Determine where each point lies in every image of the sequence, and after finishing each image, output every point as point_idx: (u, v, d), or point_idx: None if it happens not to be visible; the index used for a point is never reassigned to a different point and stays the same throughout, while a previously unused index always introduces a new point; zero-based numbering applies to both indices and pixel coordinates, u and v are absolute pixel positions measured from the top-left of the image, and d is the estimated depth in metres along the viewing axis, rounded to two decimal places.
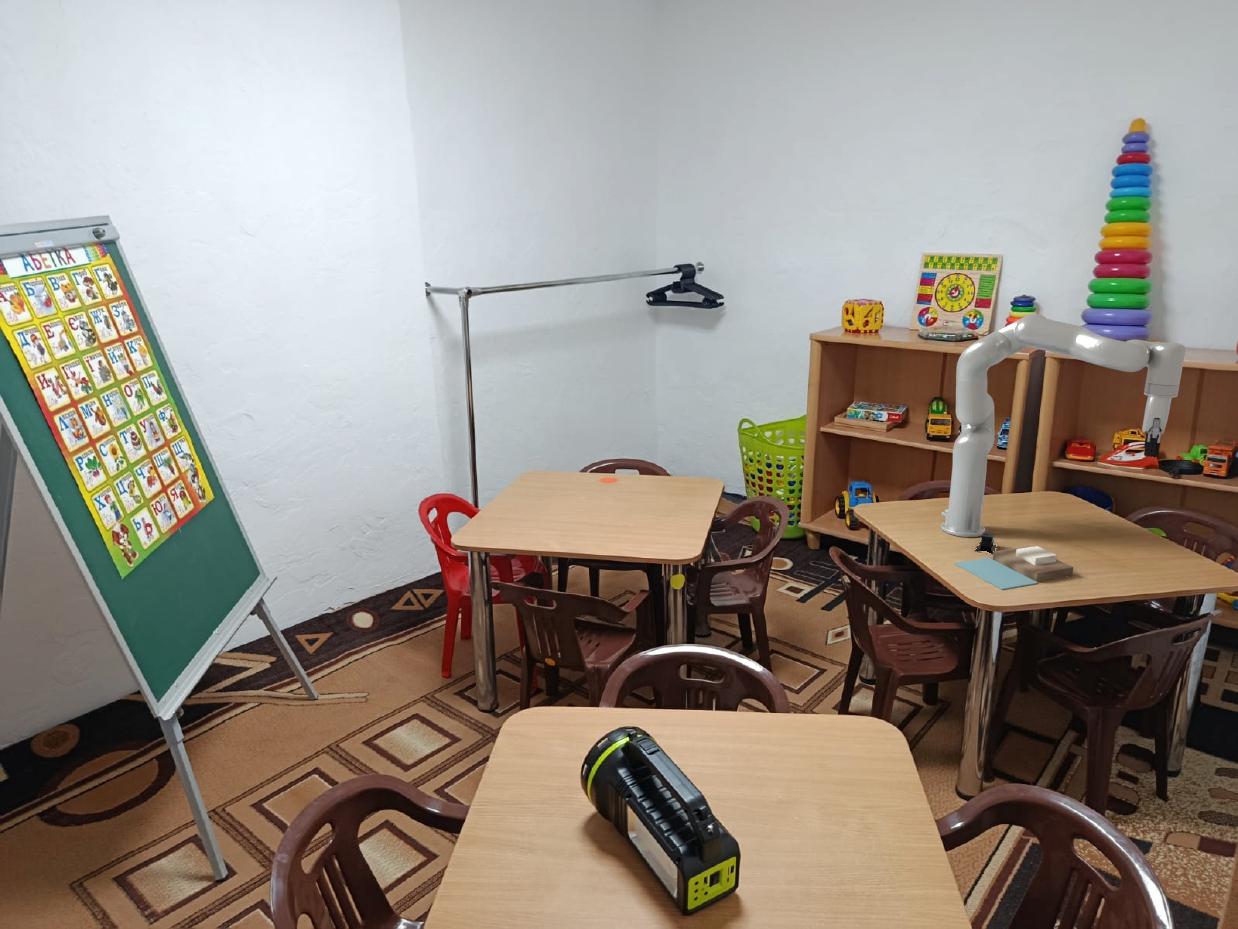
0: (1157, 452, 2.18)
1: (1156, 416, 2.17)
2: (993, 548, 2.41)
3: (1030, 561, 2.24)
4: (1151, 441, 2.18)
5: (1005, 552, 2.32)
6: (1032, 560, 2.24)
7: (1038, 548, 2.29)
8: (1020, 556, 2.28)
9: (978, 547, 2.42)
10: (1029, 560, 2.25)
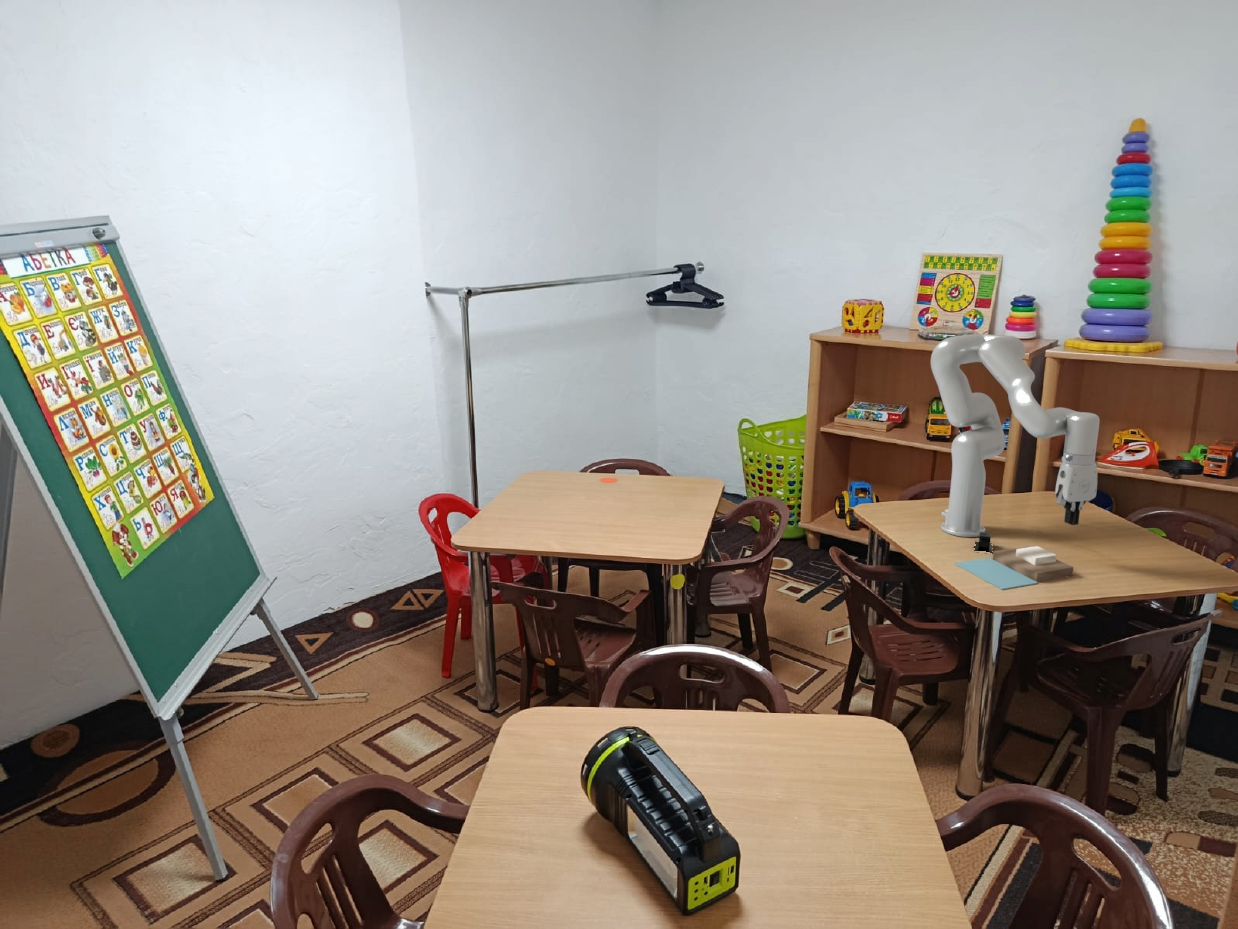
0: None
1: None
2: (990, 547, 2.41)
3: (1030, 561, 2.24)
4: None
5: (1005, 552, 2.32)
6: (1032, 560, 2.24)
7: (1038, 548, 2.29)
8: (1020, 556, 2.28)
9: (976, 547, 2.42)
10: (1029, 560, 2.25)
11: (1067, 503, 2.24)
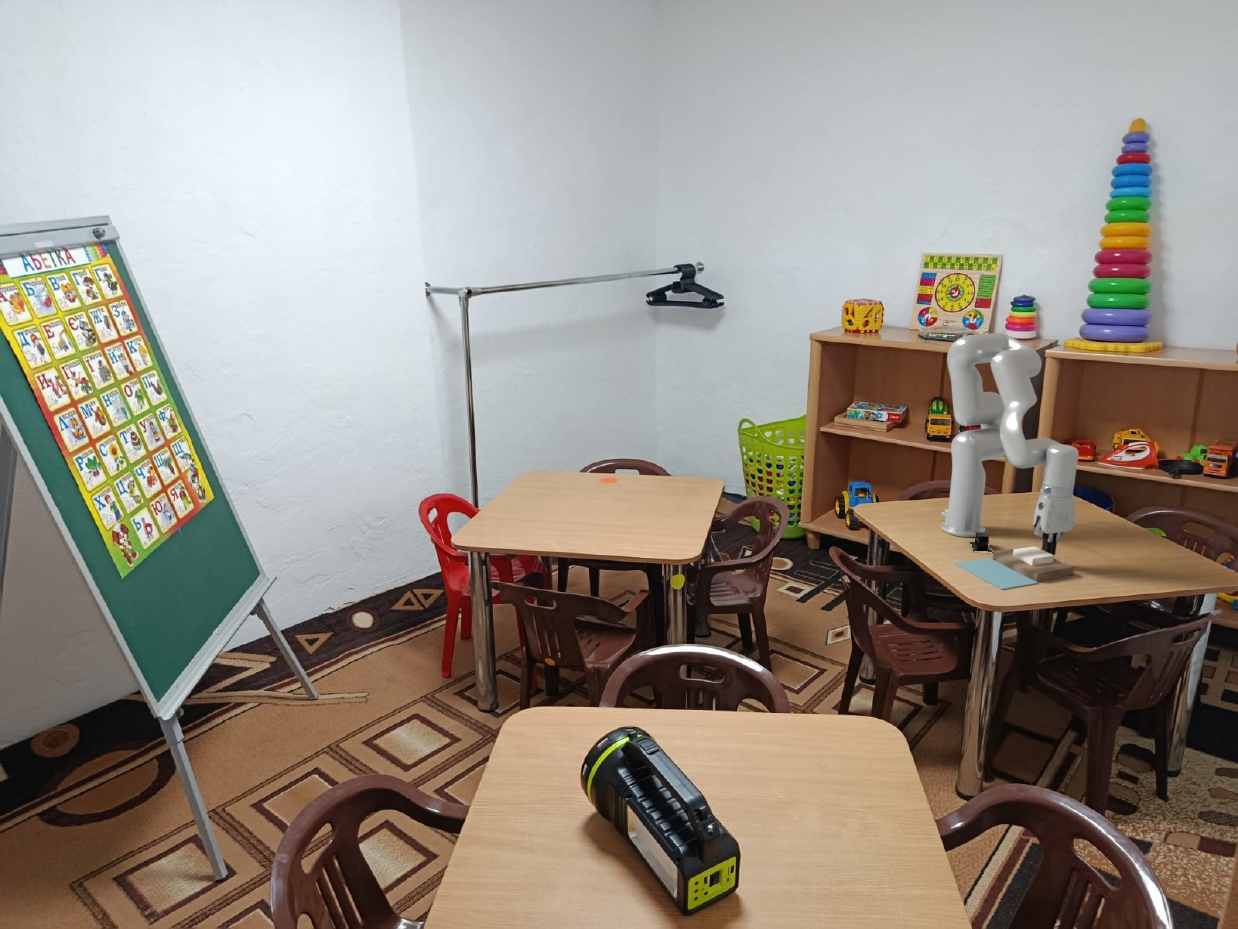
0: None
1: None
2: (988, 547, 2.42)
3: (1027, 561, 2.24)
4: None
5: (1005, 552, 2.32)
6: (1029, 560, 2.23)
7: (1035, 548, 2.29)
8: (1017, 556, 2.27)
9: (974, 547, 2.41)
10: (1026, 560, 2.24)
11: (1044, 534, 2.25)
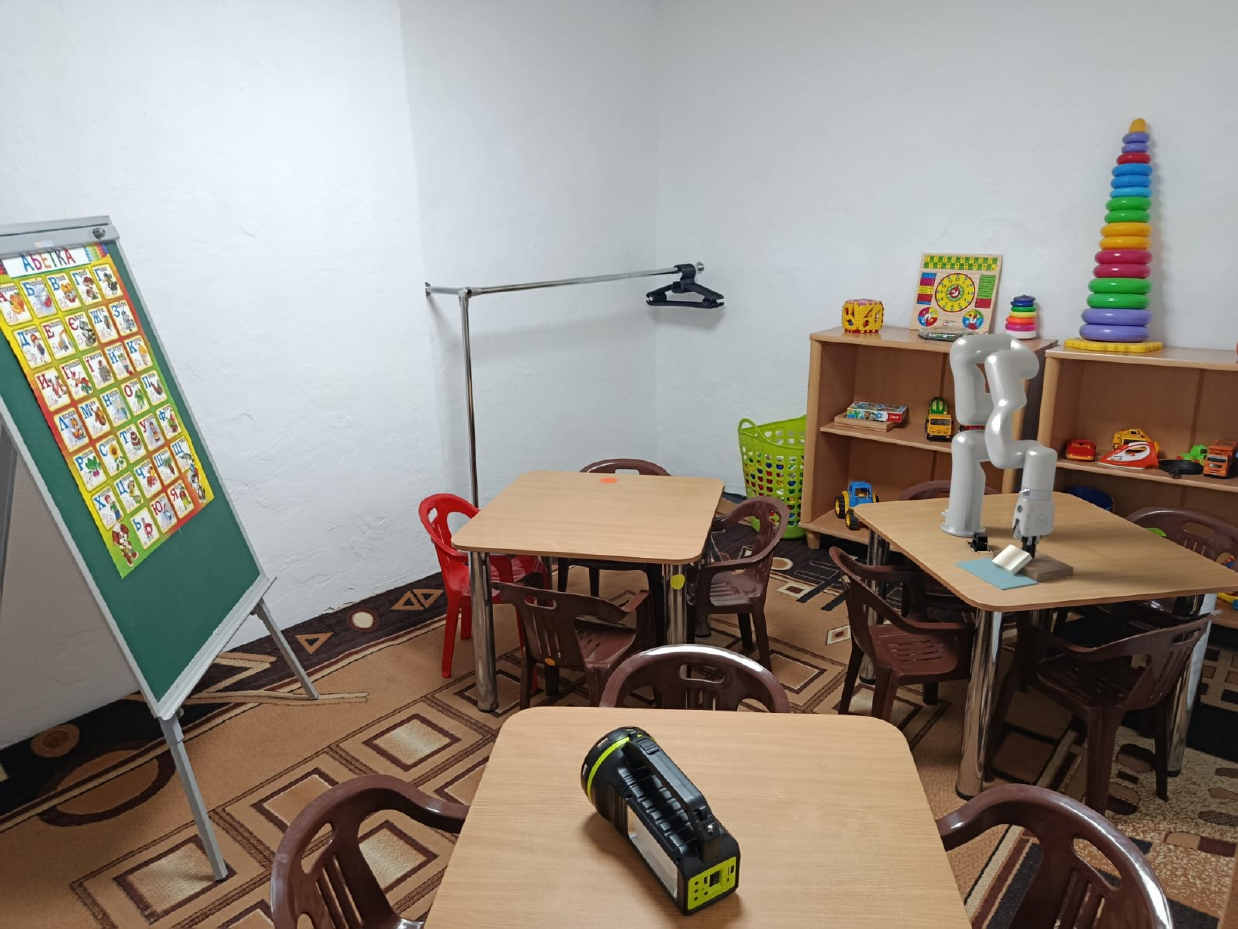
0: None
1: None
2: None
3: (1008, 572, 2.23)
4: None
5: None
6: (1008, 571, 2.23)
7: (1011, 548, 2.26)
8: (998, 566, 2.27)
9: (973, 548, 2.41)
10: (1006, 571, 2.24)
11: (1024, 537, 2.23)
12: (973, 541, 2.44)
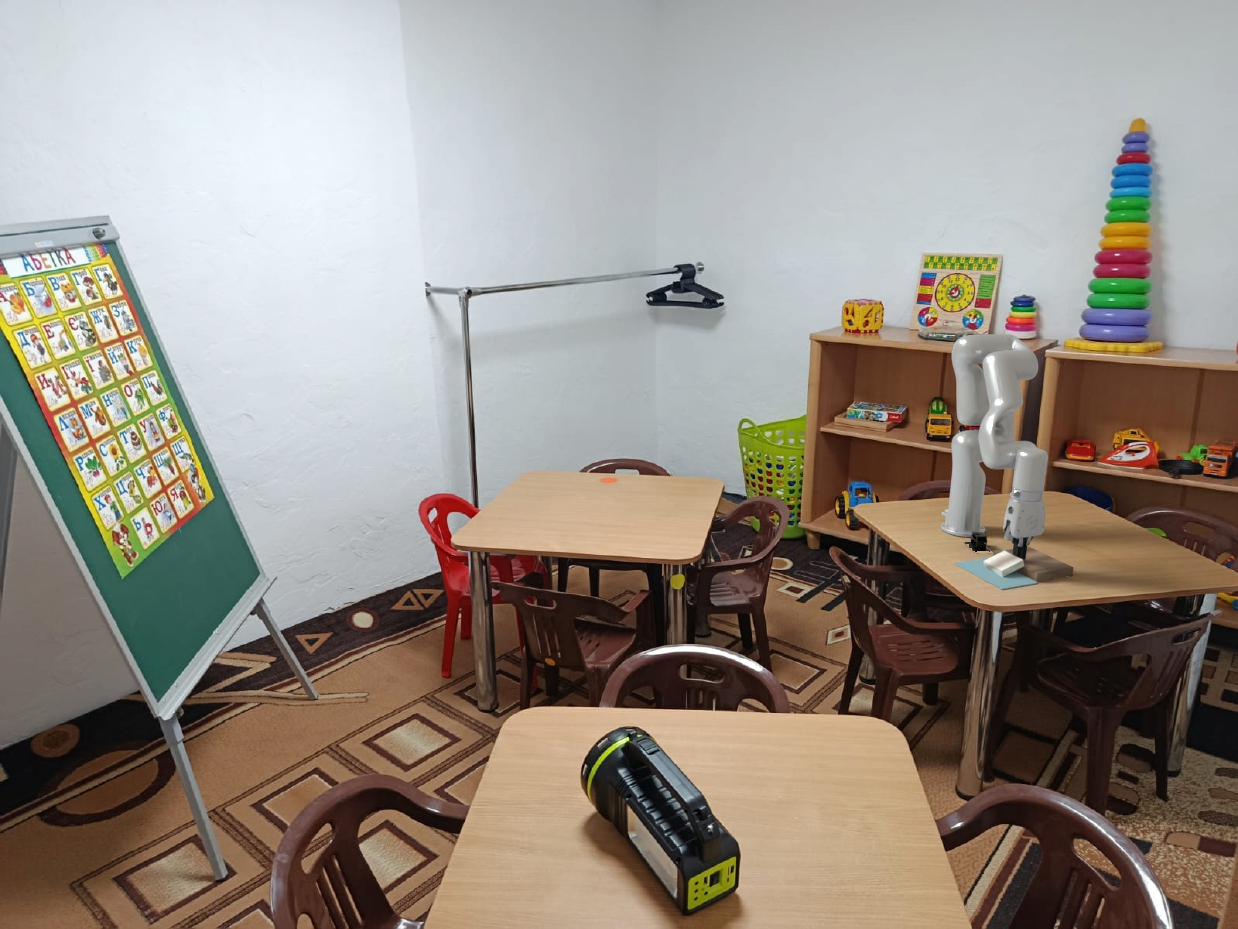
0: None
1: None
2: None
3: (998, 573, 2.22)
4: None
5: None
6: (999, 572, 2.22)
7: (1005, 554, 2.26)
8: (988, 568, 2.26)
9: (973, 548, 2.41)
10: (997, 572, 2.23)
11: (1014, 539, 2.22)
12: (971, 541, 2.44)
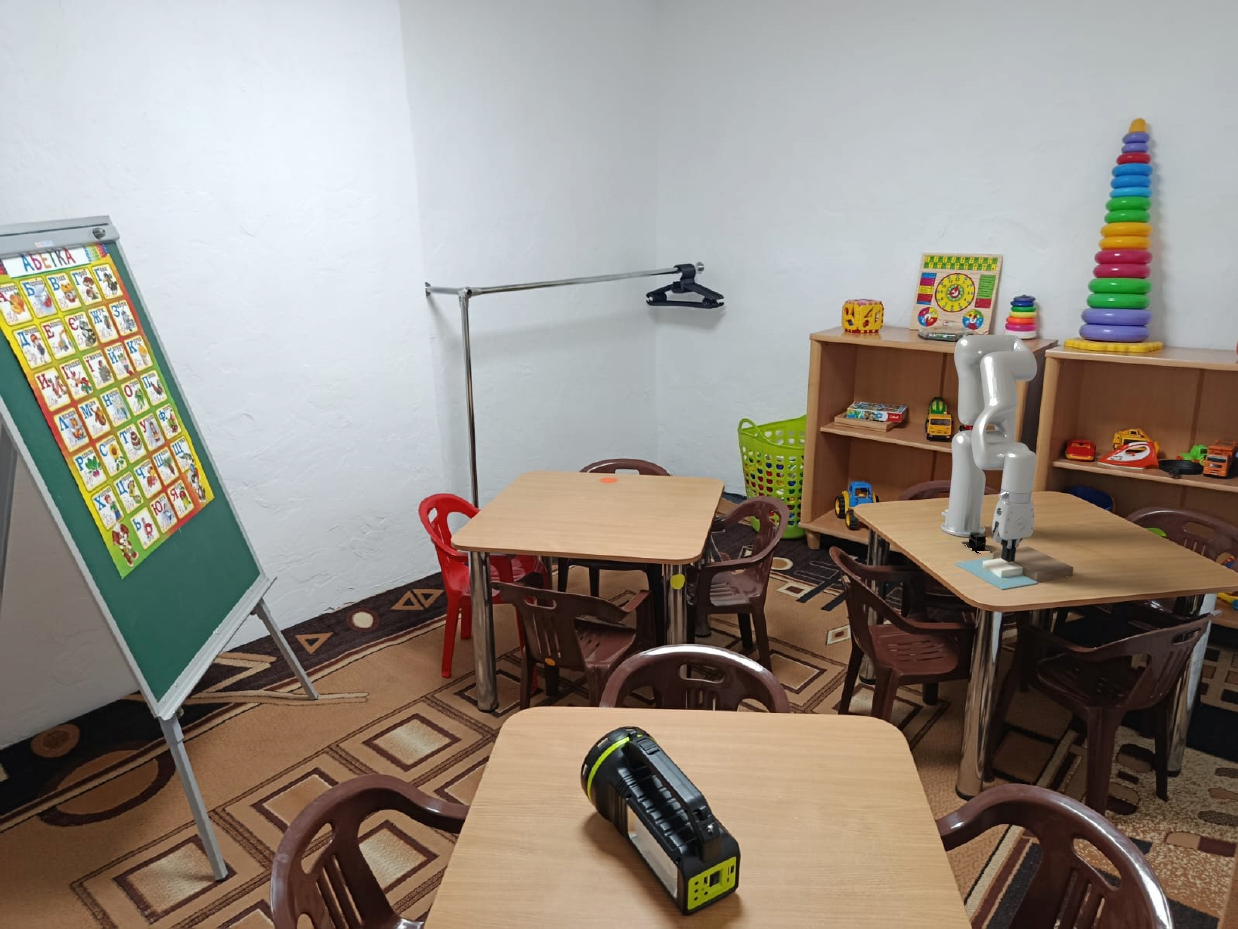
0: None
1: None
2: None
3: (996, 573, 2.22)
4: None
5: None
6: (998, 572, 2.21)
7: None
8: (987, 568, 2.25)
9: (972, 548, 2.41)
10: (995, 572, 2.22)
11: (1003, 540, 2.21)
12: (969, 541, 2.44)
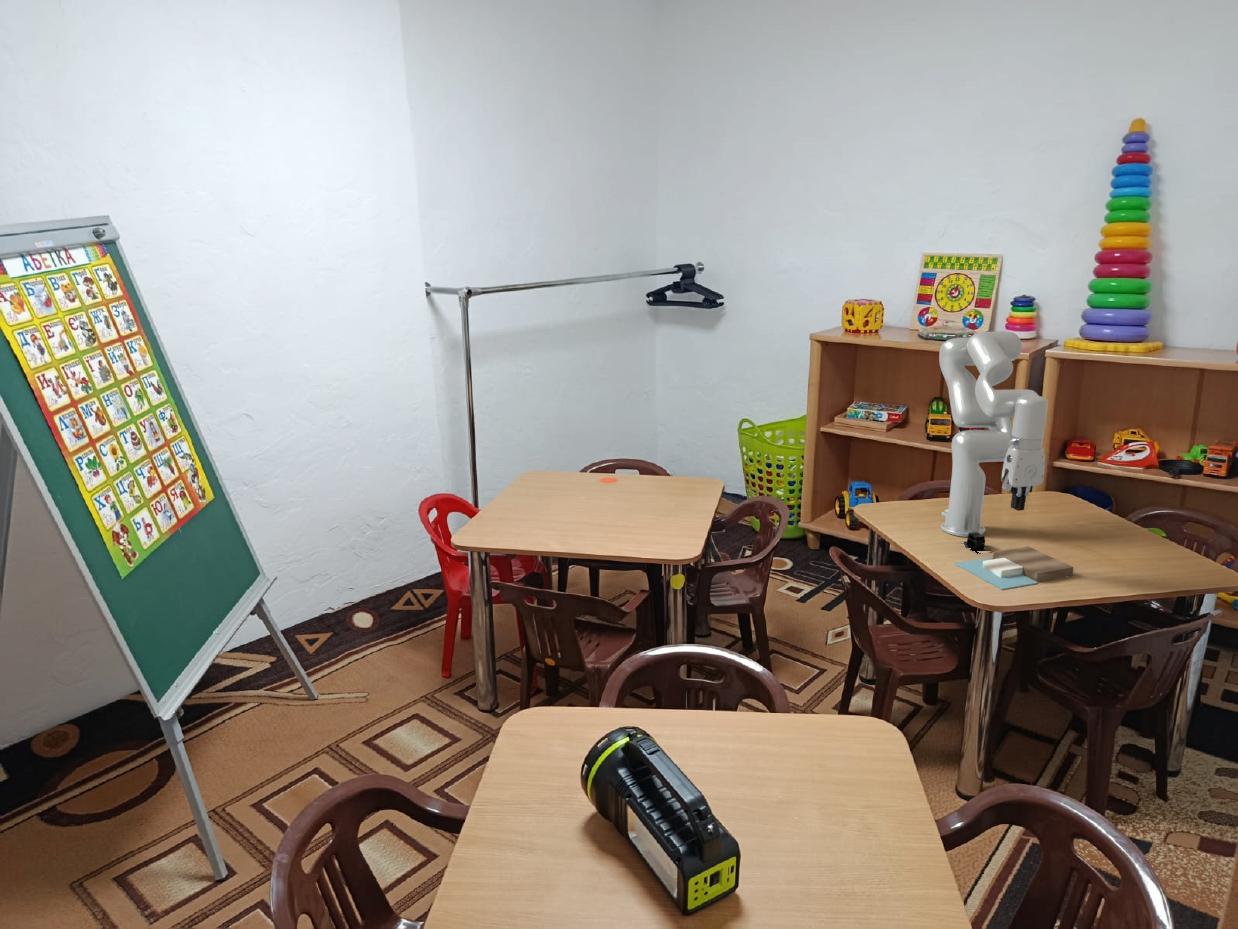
0: None
1: None
2: None
3: (996, 573, 2.22)
4: None
5: (1005, 552, 2.32)
6: (998, 572, 2.21)
7: (1005, 560, 2.27)
8: (987, 568, 2.25)
9: (972, 549, 2.40)
10: (995, 572, 2.22)
11: (1013, 488, 2.18)
12: (968, 542, 2.43)
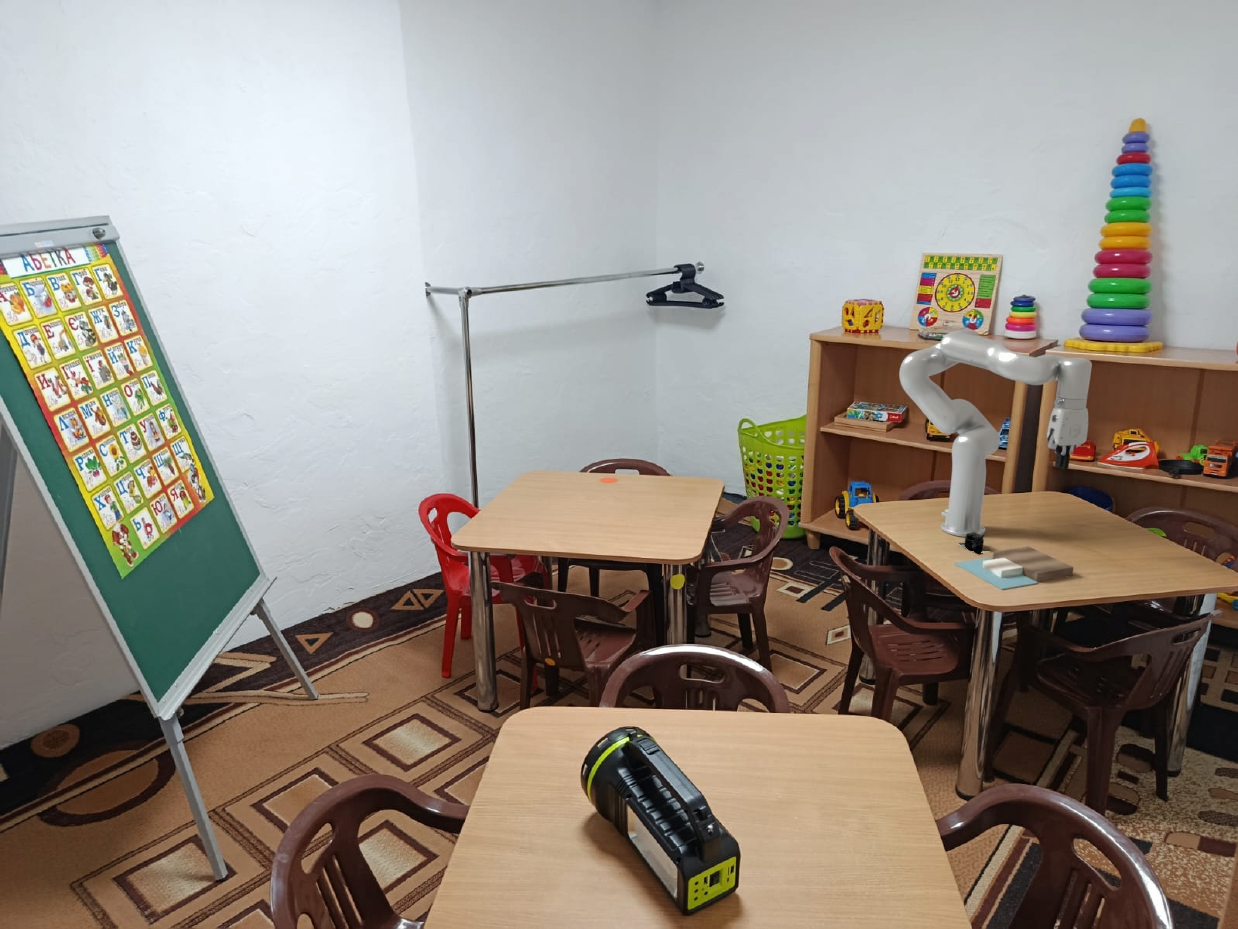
0: None
1: None
2: None
3: (996, 573, 2.22)
4: None
5: (1005, 552, 2.32)
6: (998, 572, 2.21)
7: (1005, 560, 2.27)
8: (987, 568, 2.25)
9: (972, 549, 2.40)
10: (995, 572, 2.22)
11: (1058, 447, 2.29)
12: (965, 543, 2.43)
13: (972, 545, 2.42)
